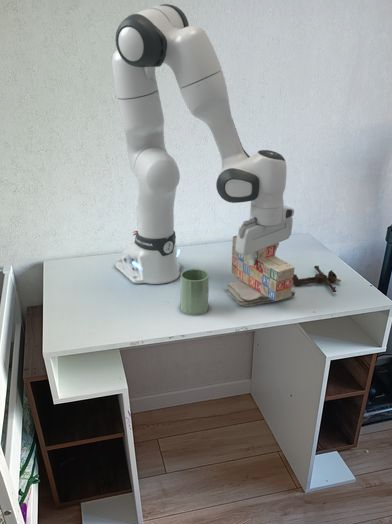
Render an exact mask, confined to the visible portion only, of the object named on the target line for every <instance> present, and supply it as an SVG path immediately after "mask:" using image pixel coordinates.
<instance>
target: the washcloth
mask: <svg viewBox="0 0 392 524" xmlns="http://www.w3.org/2000/svg"><path fill="white" fill-rule="evenodd" d="M226 291H227V293H228V294H229V295H230V297H231V298H232V299H233V300H234V301H235V302H236V303H237V304H238V305H240V306H243V307H251V306H256V305H259V304H268V303H273V302H274V301H273V300H271V299H270V298H268V297H267V296H265V295H264V294H262V293H261V292H259V291H258V290H256V289H255V288H253V287H251V286H250V285H248V284H246V283H245V282H243V281H242V280H240V281H233V282H229V283H227V284H226ZM295 295H296V292H295V291H294V289H291V296H290V297H287V298H284V299H280V300H277V301H276V302H278V301H282V300H283V301H284V300H288V299H291V298H293V297H295Z"/></svg>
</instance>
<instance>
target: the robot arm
mask: <svg viewBox="0 0 392 524" xmlns="http://www.w3.org/2000/svg"><path fill="white" fill-rule="evenodd" d="M115 46H116V51H114V53H113V55H112V58H111V65H112V67H111V68H112V78H113V84H114V85H113V86H114V90H115V95H116V99H117V103H118V108H119V111H120V112H119V113H120V116H121V120H122V121H121V122H122V124H123V129H124V135H125V142H126V150H127V156H128V160H129V166H130V169H131V171H132V173H133V175H134V176H135V177H136V178H137V179H136V180H137V182H138V198H137V205H136V208H135V209H136V224H137V230H135V231H132V233H133V234H132V236H135V238H134V241H133V242H131V243H130V244H129V245H127V246H126V247H124V249H123V250H122V259H120V260H118V261H117V262H116V263H115V268H116V269H117V270H118V271H120V272H121V273H122V274H123V275H124V276H125V277H127V279H129V280H130V281H131V282H132V283H133V284H151V285H154V284H155V285H160V284H161V285H162V284H167V283H171V282H173V281H175V280H177V279H178V278H179V277H180V275H181V272H180V269H181V263H180V262H179V254H180V251H181V249H178V248H177V244H176V242H177V241H176V239H177V235H176V231H175V217H174V216H175V212H174V211H175V210H174V209H175V200H176V195H177V194H176V193H177V188H178V186H179V183H180V179H181V174H180V170H179V166H178V164H177V162H176V160H175V159H174V158H173V156H172V155H170V154H169V153H168V151H167V148H166V145H165V144H166V143H165V129H164V125H165V118H164V113H163V107H162V101H161V96H160V92H159V91H160V90H159V86H158V82H157V76H156V68H159V67H162V65H163V64H165V65H167V66H169V68H170V69H171V70H172V72H173V74H174V77H175V80H176V83H177V86H178V89H179V91H180V94H181V97H182V98H183V101H184V103H185V105H186V107H187V109H188V110H189V113H190V114H191V116H193V117H194V118H196V119H197V120H200V121H202V122H203V123H205V124H206V126H207V127H208V128H209V130H210V131H211V134H212V136H213V139H214V142H215V144H216V147H217V149H218V152H219V155H220V157H221V158H220V159H221V170H220V172H219V174H218V177H217V179H216V182H215V183H216V185H215V186H216V191H217V193H218V196H219V197H220V198H221V199H222V200H224V201H225V202H227V203H230V204H231V203H232V204H236V203H237V204H238V203H239V204H240V203H246V202H250V206H249V207H250V208H249V209H250V210H249V211H250V212H249V219H248V220H244V221H243V222H242V224H241V225H240V226H239V228H238V231H237V234H236V236H237V239H236V246H235V250H236V252H237V253H238V254H241V255H243V256H248V258H249V265H251V266H254V265H256V264H257V259H255V257H254V255H255V253H256V252H257V251H259V250H262V249H264V248H266V247H269V246H271V245H274V246H275V248H274V256H276V252H277V249H278V248H279V246H280V243H281V242H284V241H286V240H288V239H289V238H290V237H291V235H292V230H293V221H294V220H293V216H294V214H295V209H294V208H292V207H289V206H286V205H284V204H285V202H284V193H285V190H286V186H287V185H286V183H287V161H286V159H285V157H284V156H283V155H282V154H280V153H279V152H276V151H273V150H270V149H261V150H258V151H257V152H256V153H254V154H252V155H251V156H250V155H249V154H248V153H247V152H246V150H245V149H244V146H243V144H242V142H241V138H240V136H239V133H238V130H237V128H236V125H235V122H234V120H233V116H232V111H231V105H230V99H229V93H228V87H227V83H226V80H225V76H224V72H223V70H222V65H221V62H220V61H219V60H220V59H219V57H218V54H217V53H216V50H215V48H214V46H213V44H212V42H211V40H210V38H209V36H208V34H207V32H206V31H205V30H204V29H203V28H202V27H200V26H195V25H190V24H189V20H188V18H187V16H186V15H185V12H184V11H183V10H182V9H180V8H179V7H178V6H176V5H173V4H169V3H163V4H159V5H155V6H149V7H146V8H143V9H142V10H140V11H138V12H136V13H132V14H130V15H128V16H127V17H125V18H124V19H123V20H121V22H120V23H119V25H118V27H117V29H116V31H115Z"/></svg>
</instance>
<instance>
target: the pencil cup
mask: <svg viewBox="0 0 392 524" xmlns="http://www.w3.org/2000/svg"><path fill="white" fill-rule="evenodd" d="M179 277H180V281H179V283H180V285H179V286H180V310H181V312H183V313H184V314H187V315H189V316H197V315H198V316H200V315H203V314H205V313H207V312H208V310H209V290H210V289H209V288H210V287H209V286H210V273H209V272H208V271H206V270H204V269H201V268H189V269H185V270H183V271H182V272H180V275H179Z"/></svg>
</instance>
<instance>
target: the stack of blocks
mask: <svg viewBox="0 0 392 524" xmlns="http://www.w3.org/2000/svg"><path fill="white" fill-rule="evenodd" d="M236 239H237V235H234V236H232V247H231V275H233V276H234V277H236V278H237V279H238V280H240V281H243V282H245V283H246V284H248V285H250V286H251V287H253V288H255V289H256V290H258V291H259V292H261V293H262V294H264V295H265V296H267V297H268V298H270V299H271V300H273V302H278V301H281V300H280V299H284V298H287V297H290V296H291V290H293V276H294V274H295V269H296V267H295V266H294V265H292V264H290V263H288V262H287V261H285V260H283V259H281V258H279V257H278V256H276V255H275V256H274V248H275V246H274V245H271V246H269V247H266V248H264V249H262V250H259V251H257V252H256V253H255V255H254V257H255V259H257V264H256V265H254V266H251V265H249V258H248V256H243V255H241V254H238V253H237V252H236V250H235V246H236ZM277 300H278V301H277ZM284 300H285V299H284Z"/></svg>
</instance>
